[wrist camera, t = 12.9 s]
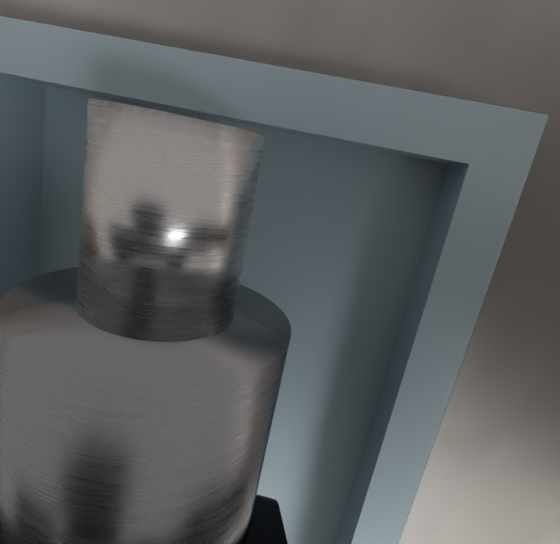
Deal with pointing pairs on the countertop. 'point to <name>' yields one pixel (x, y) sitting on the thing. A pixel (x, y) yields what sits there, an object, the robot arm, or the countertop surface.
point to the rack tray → (300, 242)
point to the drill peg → (143, 348)
